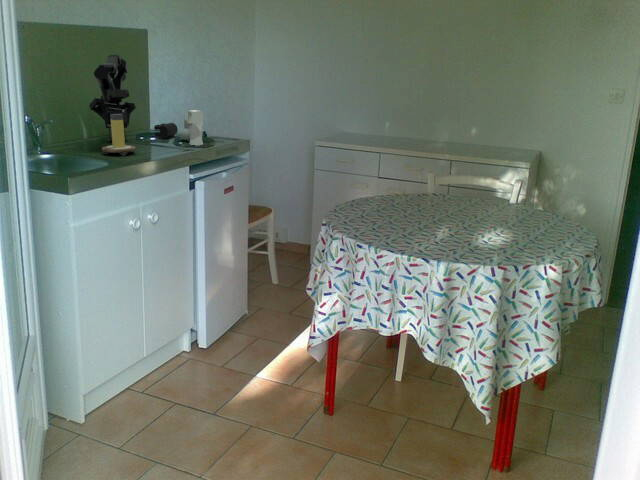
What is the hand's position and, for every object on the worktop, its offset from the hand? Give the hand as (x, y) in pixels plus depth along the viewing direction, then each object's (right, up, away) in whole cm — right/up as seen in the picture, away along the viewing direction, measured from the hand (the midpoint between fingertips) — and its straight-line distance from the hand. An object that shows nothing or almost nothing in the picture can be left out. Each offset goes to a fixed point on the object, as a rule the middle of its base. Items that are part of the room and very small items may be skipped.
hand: (118, 123), depth 265 cm
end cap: (+11, 0, +38) cm, 40 cm away
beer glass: (+28, -6, +20) cm, 35 cm away
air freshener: (+24, -2, +31) cm, 40 cm away
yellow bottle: (+2, -10, -6) cm, 12 cm away
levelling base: (+2, -13, -5) cm, 14 cm away
